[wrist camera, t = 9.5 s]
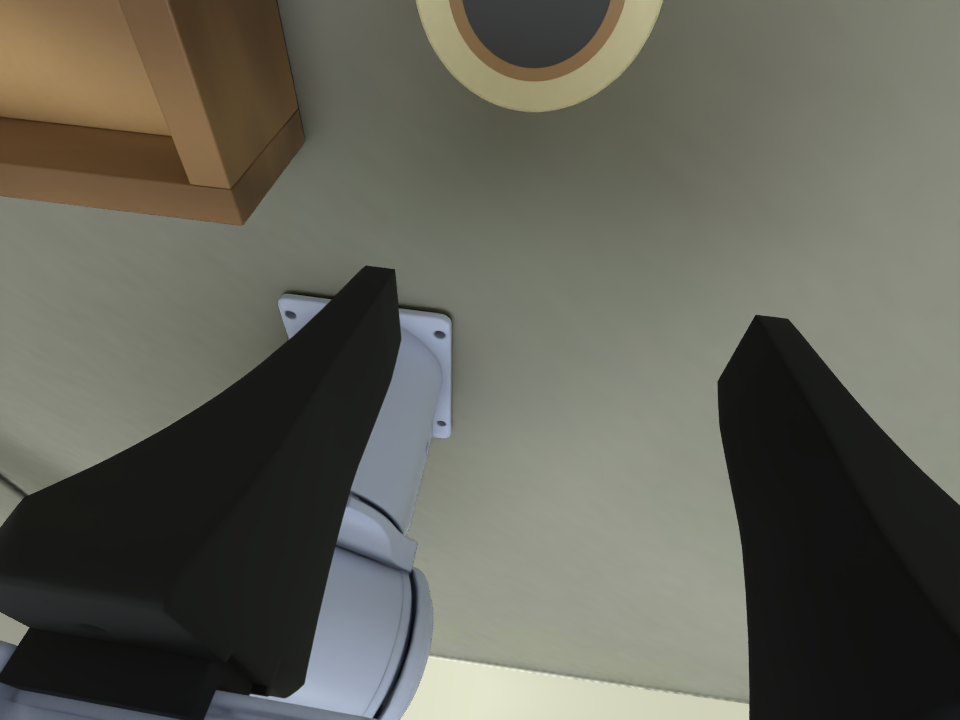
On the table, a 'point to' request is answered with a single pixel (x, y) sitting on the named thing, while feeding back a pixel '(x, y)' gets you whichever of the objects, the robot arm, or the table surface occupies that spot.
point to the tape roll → (537, 46)
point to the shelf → (146, 105)
